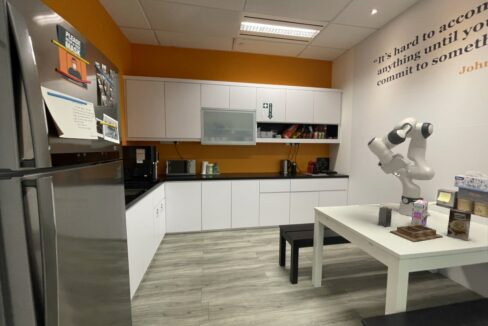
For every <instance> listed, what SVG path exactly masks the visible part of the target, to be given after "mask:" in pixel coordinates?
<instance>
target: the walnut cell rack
mask: <svg viewBox="0 0 488 326" xmlns="http://www.w3.org/2000/svg"><path fill="white" fill-rule="evenodd" d="M389 232H390V233H391V234H393V235H395V236H398V237H400V238H403V239H405V240H407V241H409V242H413V243H419V242H423V241H429V240H436V239H441V238H444V237H443V236H444V235H442V234H439V233H437V229H435V228H431V227H429V226H426V225H425V226H423V225H420V224H416V225H411V224H409V225H402V226H397V227H396V229H394V230H393V229H392V230H390V231H389Z"/></svg>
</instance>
